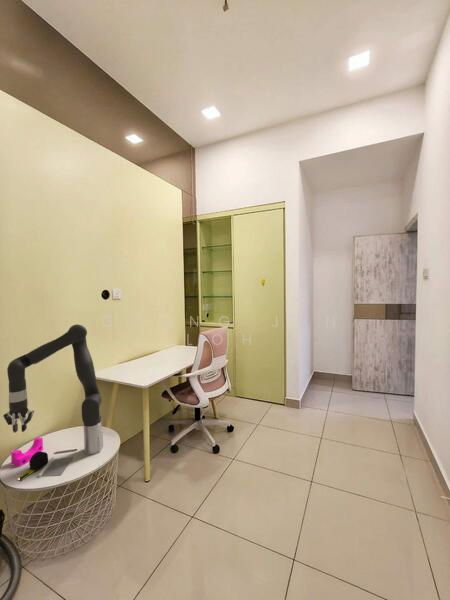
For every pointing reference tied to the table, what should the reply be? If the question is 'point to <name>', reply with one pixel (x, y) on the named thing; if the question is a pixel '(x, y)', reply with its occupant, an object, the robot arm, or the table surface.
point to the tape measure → (36, 463)
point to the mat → (55, 467)
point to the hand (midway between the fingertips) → (19, 431)
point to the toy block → (26, 453)
